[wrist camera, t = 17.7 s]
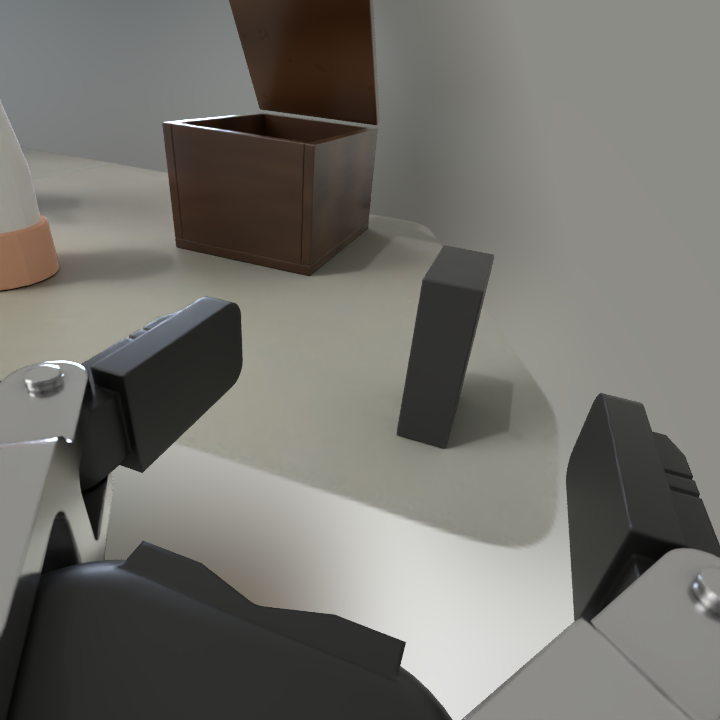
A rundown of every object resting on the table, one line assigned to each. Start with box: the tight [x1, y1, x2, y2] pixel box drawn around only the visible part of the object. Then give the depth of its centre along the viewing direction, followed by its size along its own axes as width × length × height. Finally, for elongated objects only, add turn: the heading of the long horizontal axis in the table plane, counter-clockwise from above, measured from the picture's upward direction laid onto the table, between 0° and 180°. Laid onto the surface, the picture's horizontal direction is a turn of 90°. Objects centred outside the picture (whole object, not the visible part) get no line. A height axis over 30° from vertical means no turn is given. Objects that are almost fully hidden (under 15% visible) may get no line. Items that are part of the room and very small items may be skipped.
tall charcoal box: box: [397, 246, 494, 448], centre depth 23 cm, size 2×5×8 cm, turn 161°
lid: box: [229, 0, 379, 125], centre depth 41 cm, size 16×13×5 cm
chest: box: [162, 112, 378, 276], centre depth 44 cm, size 16×13×10 cm
